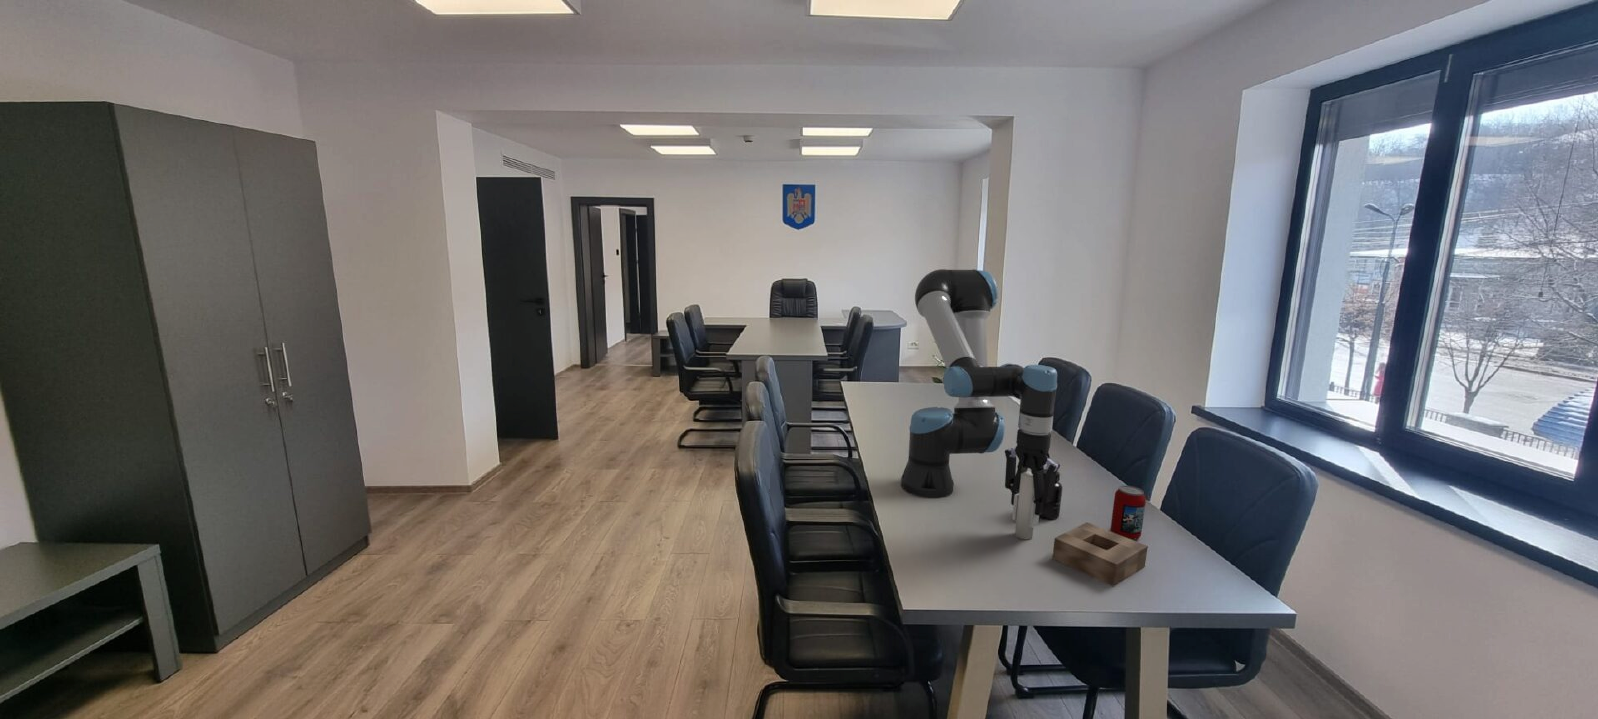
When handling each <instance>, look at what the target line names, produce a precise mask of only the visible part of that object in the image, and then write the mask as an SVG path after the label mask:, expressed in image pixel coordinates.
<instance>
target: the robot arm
mask: <svg viewBox="0 0 1598 719" xmlns="http://www.w3.org/2000/svg"><path fill="white" fill-rule="evenodd" d="M998 297H999V290H998V286H997V282H996V280H995V277H994V276H993V275H992V274H991V272H988V271H986V270H979V269H978V270H977V269H976V268H975V269H974V268H973V269H946V268H945V269H943V268H942V269H935V270H933V271H931V272H929V273H926V275H925V276H923V278H921V279H920V281H919V283H918V284H917V287H916V289H915V293H914V303H915V304H914V305H915V307H916V309H917V311H918V314H919V315H920V316H921V317H923V318H925V321H926V324H927V325H928V328H929V330H930V333H931V335H932V337H933V340H934V341H935V344H936V346H937V349H938V352H939V353H940V356H941V357H942V360H943V363H944V365H945V367H946V369H945V370H944V373H943V376H942V383H943V389H944V391H945V393H946V395H948V396H949V397H952V398H958V402H957V403H956V404H955V405H954V407H953V411H954V412H953V411H952V410H951V409H949V408H947V407H943V406H942V407H938V406H930V407H925V408H921V409H918V410H916V411H915V412H914V413H913V414H912V415H911V418H910V426H909V440H908V442H909V443H908V457H907V458H908V459H907V463H906V465H905V468H904V470H903V473H902V475H901V478H900V487H901V489H902V490H904V491H905V492H906V493H909V494H911V495H914V496H918V497H923V498H931V499H933V498H935V499H937V498H938V499H939V498H943V497H944V498H945V497H948V496H950V495H951V494H953V493H954V489H955V488H954V487H955V484H954V482H955V481H954V479H953V476H952V471H951V467H950V455H953V454H954V455H955V454H956V455H957V454H960V455H961V454H982V455H983V454H985V453H986V454H987V453H993V452H995V451H997V450H998V449H999V448H1000V446H1001V445H1002V443H1003V441H1004V438H1005V429H1006V428H1005V422H1004V420H1003V419H1004V418H1003V416H1002V415H1001V414H1000V413H999V412H997V411H996V406H995V405H994V404H993V403H992V402H991V401H990V398H994V397H995V398H997V397H1000V398H1001V397H1004V398H1006V397H1008V398H1009V397H1013V398H1016V399H1018V400H1019V401H1020V402H1019V413H1018V421H1017V422H1018V423H1017V427H1018V429H1017V434H1016V441H1015V442H1016V446H1015V448H1013V447H1012V448H1011V447H1010V448H1008V449H1005V450H1004V455H1005V458H1006V459H1005V460H1006V464H1005V480H1004V487H1005V489H1007V490H1010V492H1011V499H1010V504H1011V506H1013V507H1012V518H1011V520H1013V521H1016V519H1017V509H1018V499H1019V489H1020V479H1021V473H1023V472H1026V471H1028V470H1031V471H1030V472H1031V473H1032V474H1033V484H1034V496H1035V500H1034V501H1032V502H1031V512H1030V521H1029V527H1031V528H1033V529H1034V527H1037V526H1039V519H1040V517H1039V515H1041V514H1042V513H1043V504H1044V503H1047V502H1049V501H1052V499H1053V492H1054V486H1055V479H1056V473H1057V471H1058V472H1059V469H1060V467H1061V464H1060V463H1059V462H1055V461H1053V460H1052V459H1051V456H1050V454H1049V450H1050V448H1051V439H1052V434H1051V432H1052V431H1053V422H1054V412H1055V403H1056V397H1057V396H1056V395H1057V390H1058V389H1057V388H1058V382H1057V381H1058V372H1057V370H1056V369H1055V368H1054V367H1051V366H1046V365H1043V364H1029V365H1026V366H1025V367H1023V366H1022V365H1019V364H1013V363H1011V362H1010V363H1004V364H1001V365H1000V366H988V365H989V364H988V348H987V347H988V346H987V327H986V320H987V318H988V317H989V316H990V315H991V310H992V309H994V308H995V306H996V304H997V302H998V301H997V299H998ZM1017 459H1018V463H1017ZM1045 465H1046V467H1045ZM1044 469H1047V472H1046V477H1045V483H1044V478H1043V472H1044Z"/></svg>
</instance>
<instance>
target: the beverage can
mask: <svg viewBox="0 0 1598 719" xmlns="http://www.w3.org/2000/svg"><path fill="white" fill-rule="evenodd" d="M1146 502H1147V498H1146V496H1145V494H1144V491H1143V489H1141V488H1139V487H1136V486H1131V485H1120V486H1119V487H1118V489H1117V490H1116V491H1115V492H1114V499H1113V507H1112V513H1111V514H1112V515H1111V523H1110V532H1113V533H1115V534H1118V535H1121V536H1123V537H1126V538H1128V539H1131V540H1136V539H1139V538H1141V536H1142V531H1143V524H1144V519H1145V518H1144V517H1145V511H1146V510H1145V509H1146Z"/></svg>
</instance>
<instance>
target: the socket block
mask: <svg viewBox="0 0 1598 719" xmlns="http://www.w3.org/2000/svg"><path fill="white" fill-rule="evenodd" d="M1053 540H1054V542H1053V548H1052V549H1053V550H1052V559H1053V560H1056V561H1058V562H1060V563H1062V564H1064V565H1067V566H1069V567H1071V568H1073V569H1075V570H1077V571H1080V572H1082V573H1084V574H1086V575H1088V576H1090V577H1092V578H1095V579H1097V580H1100V581H1101V582H1104V583H1106V584H1108V585H1110V586H1112V587H1115V586H1117V585H1118V584H1120V583H1122V582H1123V581H1124V580H1126V579H1128V578H1129V577H1131V576H1132V575H1133V574H1136V573H1137V572H1139V571H1140V570H1142V569H1144V568H1145V567H1146V562H1147V554H1148V547H1149V546H1148V545H1146V544H1143V543H1142V542H1141V543H1140V542H1138V541H1135V539H1133V540H1131V539H1128V538H1126V537H1123V536H1121V535H1118V534H1115V533H1113V532H1112V531H1111V530H1108V529H1105V528H1103V527H1099V526H1097V525H1094V524H1092V523H1089V522H1085V523H1082V524H1080V525H1078V526H1076V527H1074V528H1073V529H1071V530H1067V531H1066V532H1064V533H1062V534H1060V535H1058V536H1056V537H1054V539H1053Z"/></svg>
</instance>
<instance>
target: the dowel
mask: <svg viewBox="0 0 1598 719" xmlns="http://www.w3.org/2000/svg"><path fill="white" fill-rule="evenodd" d="M1034 500H1035V496H1034V484H1033V474H1032V473H1031V471H1030V470H1029V471H1028V470H1027V471H1026V472H1023V473H1021V479H1020V489H1019V499H1018V509H1017V519H1016V520H1015V530H1014V535H1015V537H1016V538H1019V539H1021V540H1025V541H1026V540H1031V539H1033V536H1034V535H1033V534H1034V527H1033V528H1031V527H1029V521H1030V512H1031V502H1032V501H1034Z"/></svg>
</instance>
